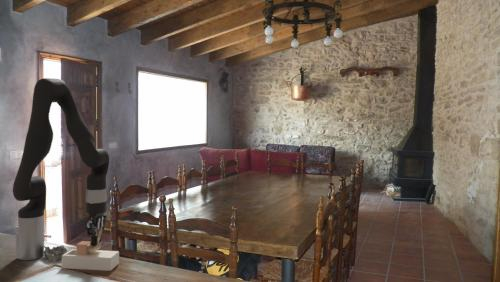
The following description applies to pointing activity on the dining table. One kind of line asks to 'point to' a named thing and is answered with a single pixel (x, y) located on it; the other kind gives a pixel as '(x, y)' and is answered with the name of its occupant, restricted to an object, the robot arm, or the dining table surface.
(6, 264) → the dining table surface
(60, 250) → the grey green rough clump
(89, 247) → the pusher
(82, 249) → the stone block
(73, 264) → the sweep board
